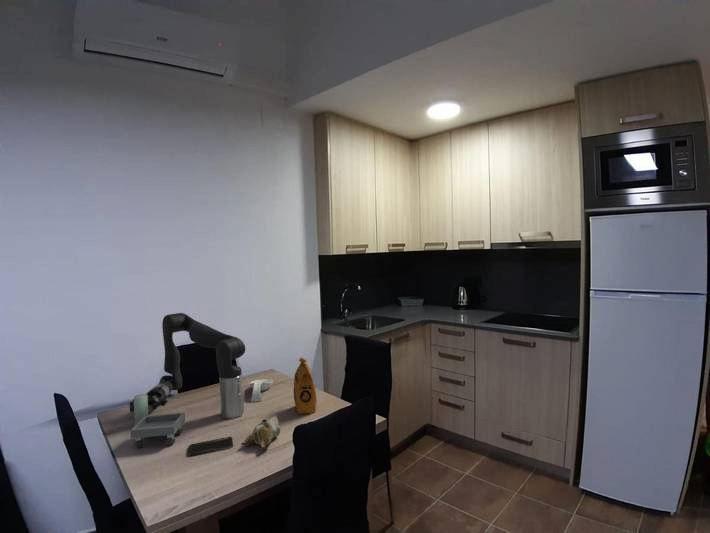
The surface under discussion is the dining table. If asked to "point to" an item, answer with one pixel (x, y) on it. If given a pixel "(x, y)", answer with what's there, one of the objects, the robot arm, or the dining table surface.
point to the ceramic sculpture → (264, 433)
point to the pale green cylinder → (140, 407)
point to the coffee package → (304, 389)
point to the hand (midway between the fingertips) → (142, 408)
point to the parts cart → (158, 427)
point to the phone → (210, 446)
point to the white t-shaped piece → (259, 388)
